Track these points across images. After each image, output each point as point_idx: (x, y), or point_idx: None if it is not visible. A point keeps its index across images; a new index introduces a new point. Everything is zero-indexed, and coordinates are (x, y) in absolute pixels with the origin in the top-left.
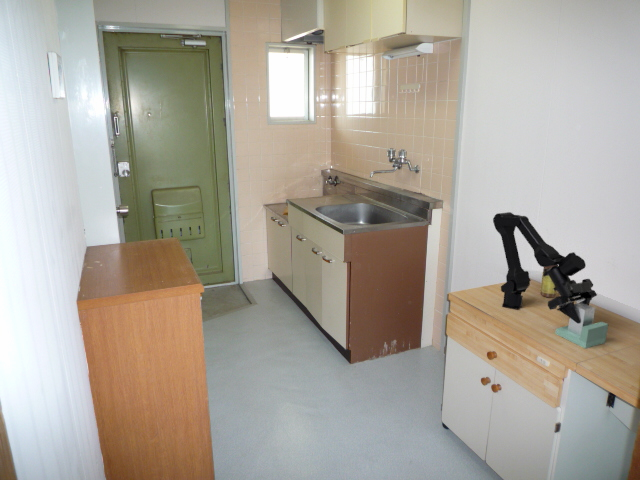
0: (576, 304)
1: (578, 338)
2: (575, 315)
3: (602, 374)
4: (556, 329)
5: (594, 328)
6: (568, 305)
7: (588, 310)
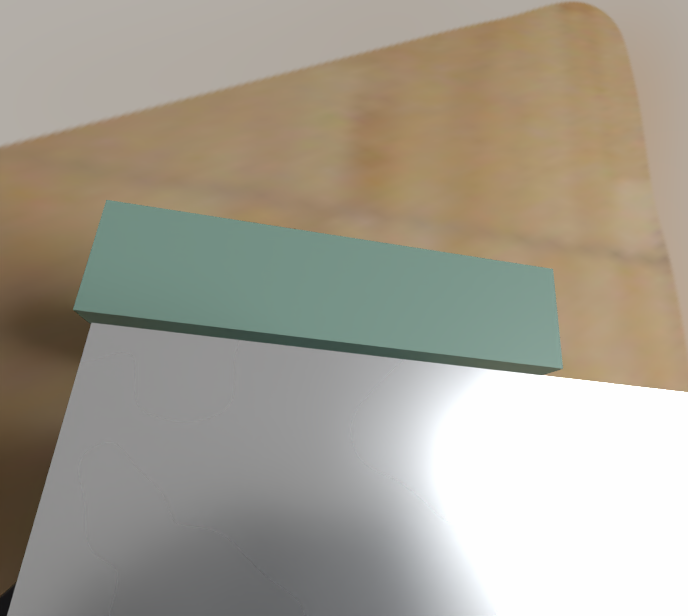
0: None
1: None
2: None
3: (618, 121)
4: None
5: (428, 253)
6: None
7: (490, 379)
